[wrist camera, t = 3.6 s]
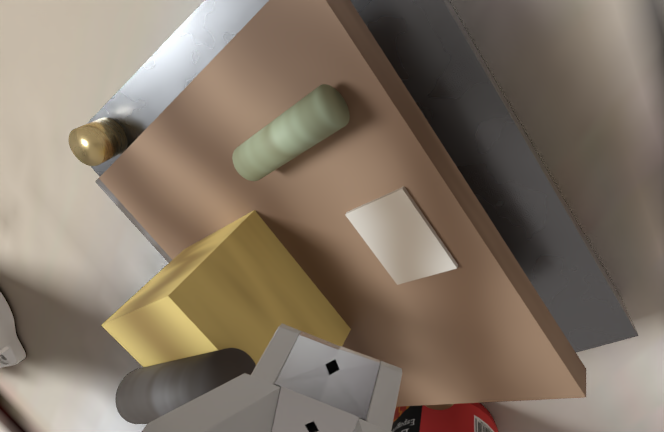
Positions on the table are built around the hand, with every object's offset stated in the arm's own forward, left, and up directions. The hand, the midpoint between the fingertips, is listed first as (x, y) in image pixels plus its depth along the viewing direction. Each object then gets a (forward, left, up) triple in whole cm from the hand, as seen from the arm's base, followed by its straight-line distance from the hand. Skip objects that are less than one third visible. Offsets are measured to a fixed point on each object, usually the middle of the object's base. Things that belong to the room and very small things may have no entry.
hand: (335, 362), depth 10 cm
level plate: (-6, -2, -11) cm, 13 cm away
